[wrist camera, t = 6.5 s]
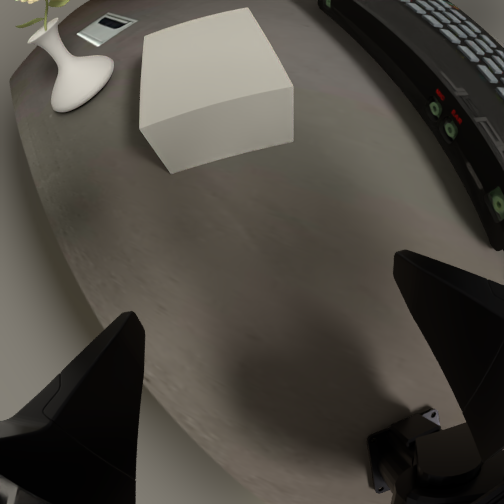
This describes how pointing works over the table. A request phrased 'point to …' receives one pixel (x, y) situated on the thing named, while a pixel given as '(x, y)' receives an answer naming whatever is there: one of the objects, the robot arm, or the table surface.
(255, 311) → the table surface
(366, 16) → the computer keyboard
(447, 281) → the robot arm
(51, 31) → the flower in vase
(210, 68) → the slab
